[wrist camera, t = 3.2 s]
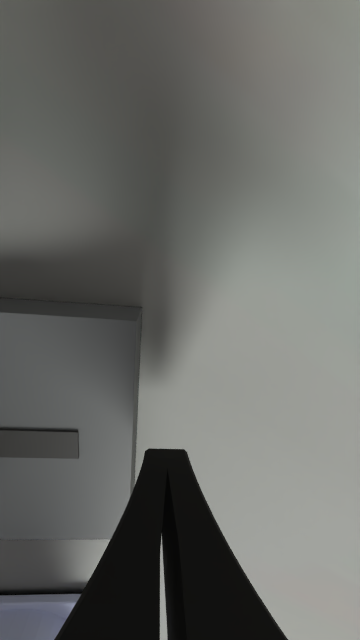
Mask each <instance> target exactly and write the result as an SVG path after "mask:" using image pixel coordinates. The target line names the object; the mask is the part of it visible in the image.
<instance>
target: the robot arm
mask: <svg viewBox="0 0 360 640" xmlns="http://www.w3.org/2000/svg"><path fill="white" fill-rule="evenodd" d="M161 534H162V545H163V563H164V580H165V598H166V615H167V633H168V640H288V639H287V638H286V636H285V635H284V633H283V632H282V631H281V629H280V628H279V626H278V625H277V623H276V622H275V620H274V619H273V617H272V616H271V614H270V613H269V611H268V609H267V608H266V606H265V605H264V603H263V602H262V600H261V599H260V597H259V596H258V594H257V592H256V591H255V589H254V588H253V586H252V584H251V583H250V581H249V579H248V578H247V576H246V574H245V573H244V571H243V569H242V568H241V566H240V564H239V563H238V561H237V559H236V557H235V556H234V554H233V552H232V550H231V549H230V547H229V545H228V543H227V541H226V539H225V538H224V536H223V534H222V532H221V530H220V528H219V526H218V524H217V522H216V520H215V518H214V516H213V514H212V512H211V510H210V508H209V506H208V504H207V502H206V500H205V498H204V495H203V493H202V491H201V489H200V486H199V484H198V482H197V479H196V477H195V474H194V472H193V469H192V466H191V464H190V461H189V458H188V454H187V452H186V451H185V450H184V449H148V450H146V451H145V455H144V460H143V464H142V467H141V470H140V473H139V476H138V479H137V482H136V484H135V487H134V489H133V492H132V494H131V496H130V499H129V501H128V504H127V506H126V508H125V511H124V513H123V515H122V517H121V519H120V521H119V523H118V525H117V528H116V530H115V532H114V534H113V536H112V538H111V540H110V542H109V544H108V546H107V548H106V550H105V552H104V554H103V556H102V558H101V559H100V561H99V563H98V565H97V567H96V569H95V571H94V572H93V574H92V576H91V578H90V580H89V581H88V583H87V585H86V587H85V589H84V590H83V592H82V594H41V595H0V640H160V545H161Z"/></svg>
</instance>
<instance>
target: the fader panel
mask: <svg viewBox="0 0 360 640" xmlns="http://www.w3.org/2000/svg"><path fill="white" fill-rule="evenodd" d="M141 319H142V307H129V306H114V305H99V304H84V303H69V302H54V301H39V300H24V299H9V298H0V540H71V539H111V538H112V536H113V534H114V532H115V530H116V528H117V525H118V523H119V521H120V519H121V517H122V515H123V513H124V511H125V508H126V506H127V504H128V501H129V499H130V496H131V494H132V492H133V489H134V481H135V458H136V435H137V411H138V388H139V365H140V342H141Z"/></svg>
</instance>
